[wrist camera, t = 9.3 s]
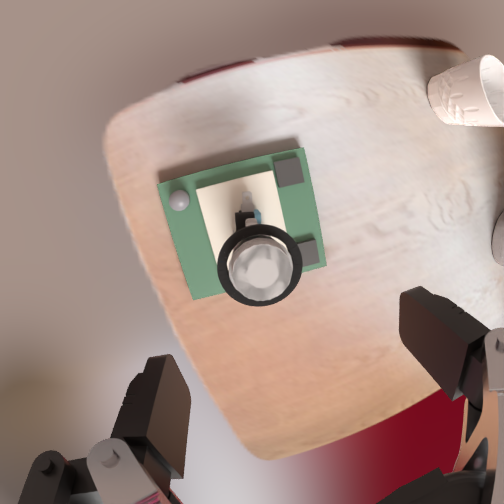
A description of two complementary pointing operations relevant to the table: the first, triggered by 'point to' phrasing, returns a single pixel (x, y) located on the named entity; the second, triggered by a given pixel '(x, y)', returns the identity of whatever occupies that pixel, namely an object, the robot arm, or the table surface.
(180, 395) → the robot arm
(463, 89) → the white cup
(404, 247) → the table surface
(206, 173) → the board
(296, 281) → the push button
